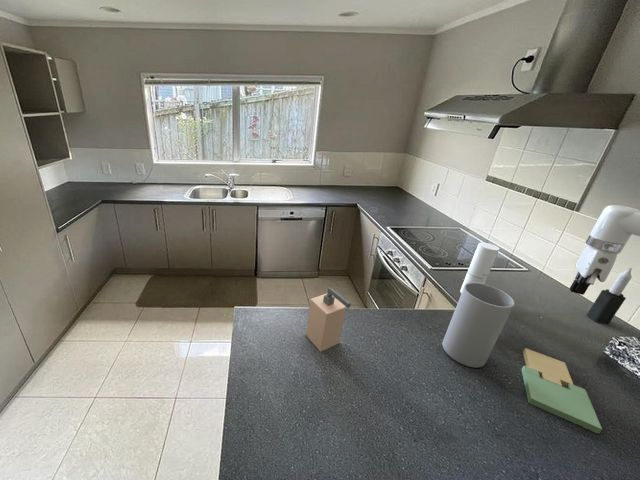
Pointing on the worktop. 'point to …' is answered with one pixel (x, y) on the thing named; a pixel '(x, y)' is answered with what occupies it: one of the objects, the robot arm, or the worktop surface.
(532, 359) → the small pad
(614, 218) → the robot arm
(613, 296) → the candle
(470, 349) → the cylinder vase
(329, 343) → the soap dispenser
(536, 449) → the worktop surface
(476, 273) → the cylindrical container
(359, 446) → the worktop surface
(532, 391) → the big pad
